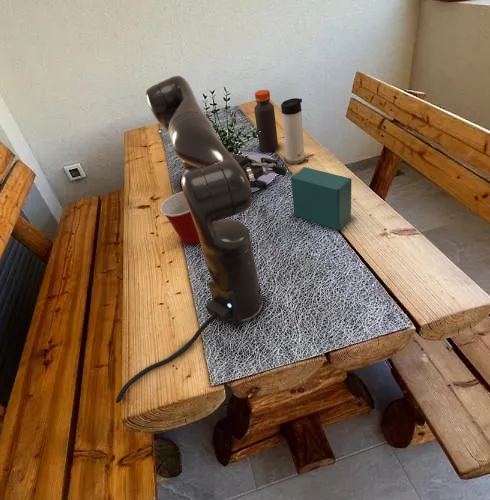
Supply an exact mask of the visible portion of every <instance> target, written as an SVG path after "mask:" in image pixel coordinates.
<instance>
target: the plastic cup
mask: <svg viewBox="0 0 490 500" xmlns="http://www.w3.org/2000/svg"><path fill="white" fill-rule="evenodd" d="M159 210H160V213H161V214H162V215H163V216H165V217H166V218H167V220H168V221H169V223H170V224H171V226H172V227H173V230H174V231H175V233H176V234H177V235H178V237H179V239H180V240H181V242H182V243H183V244H185V245H188V246H190V245H191V246H193V245H195V244H196V245H197V244H198V243H200V240H199V236H198V233H197V230H196V227H195V224H194V221H193V219H192V216H191V213H190V211H189V208H188V205H187V202H186V200H185V197H184V193H183V191H180V192H177V193H174V194H172V195H170V196H168V197H167V198H166V199H165V200H164V201H163V202H162V203H161V205H160V206H159Z"/></svg>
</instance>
